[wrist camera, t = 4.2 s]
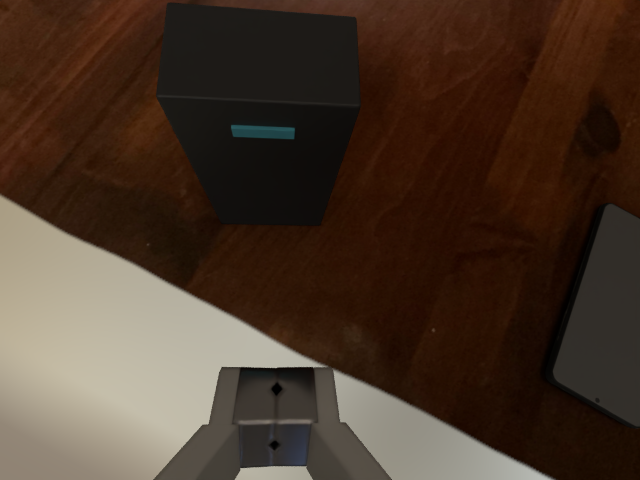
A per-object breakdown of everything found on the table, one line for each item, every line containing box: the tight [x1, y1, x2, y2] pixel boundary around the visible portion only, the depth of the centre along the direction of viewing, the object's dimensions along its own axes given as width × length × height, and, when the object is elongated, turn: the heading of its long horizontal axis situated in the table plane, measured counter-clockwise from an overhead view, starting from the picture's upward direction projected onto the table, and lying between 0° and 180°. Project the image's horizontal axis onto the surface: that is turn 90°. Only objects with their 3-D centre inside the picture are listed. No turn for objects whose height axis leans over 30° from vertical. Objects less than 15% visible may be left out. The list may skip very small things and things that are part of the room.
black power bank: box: [156, 3, 361, 225], centre depth 20 cm, size 4×7×14 cm, turn 91°
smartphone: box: [545, 203, 640, 428], centre depth 26 cm, size 7×1×15 cm
